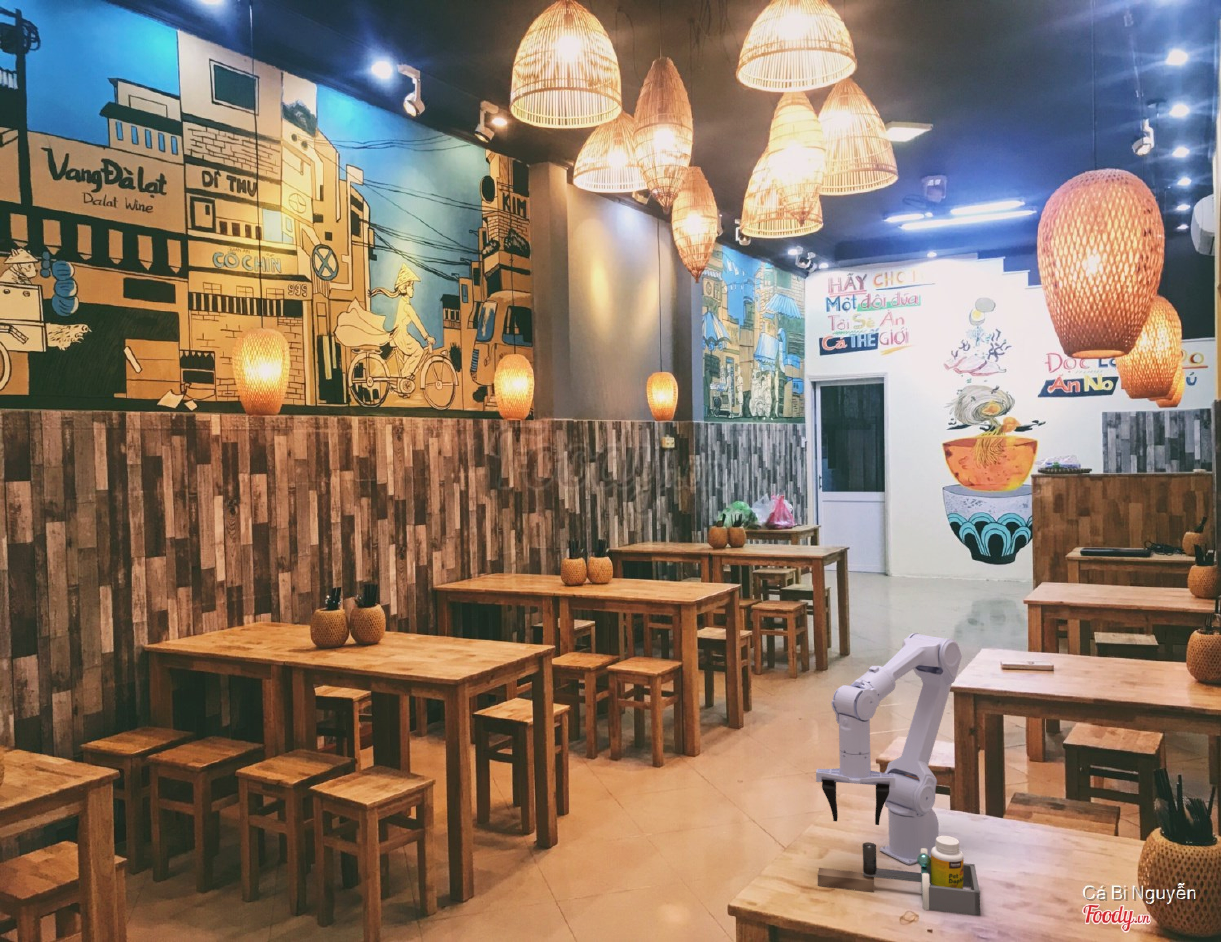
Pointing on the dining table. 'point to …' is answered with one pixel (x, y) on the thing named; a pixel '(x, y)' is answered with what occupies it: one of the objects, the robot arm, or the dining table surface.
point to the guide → (845, 880)
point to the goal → (952, 893)
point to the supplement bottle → (947, 863)
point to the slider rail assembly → (873, 871)
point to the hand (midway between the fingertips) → (856, 821)
